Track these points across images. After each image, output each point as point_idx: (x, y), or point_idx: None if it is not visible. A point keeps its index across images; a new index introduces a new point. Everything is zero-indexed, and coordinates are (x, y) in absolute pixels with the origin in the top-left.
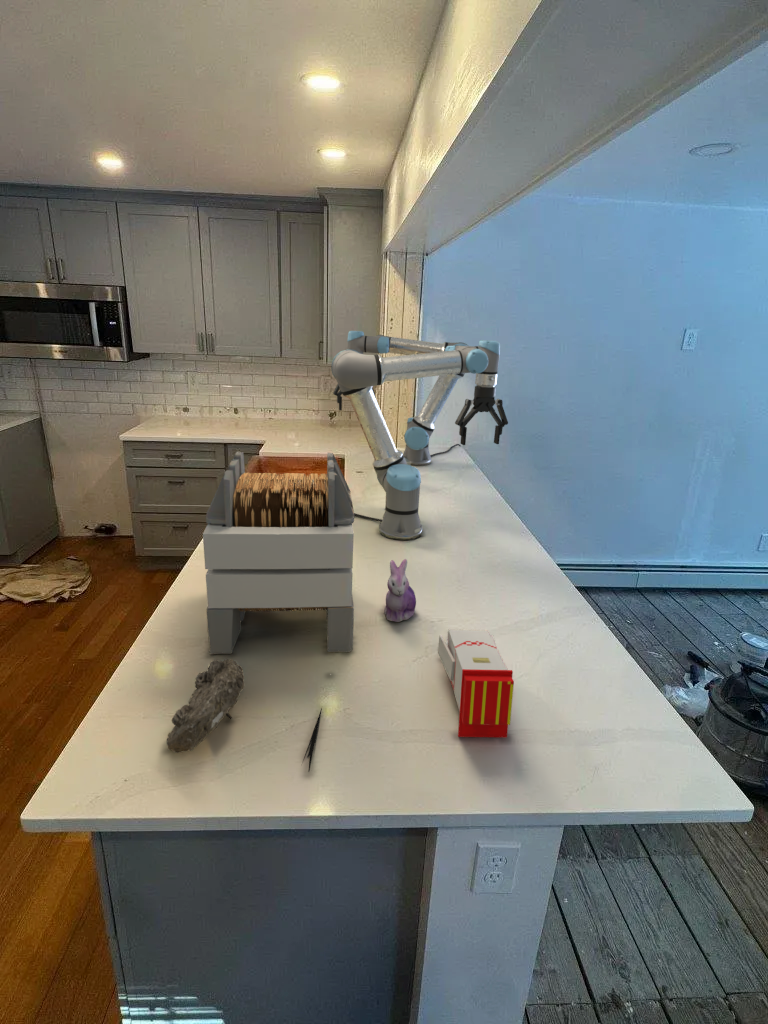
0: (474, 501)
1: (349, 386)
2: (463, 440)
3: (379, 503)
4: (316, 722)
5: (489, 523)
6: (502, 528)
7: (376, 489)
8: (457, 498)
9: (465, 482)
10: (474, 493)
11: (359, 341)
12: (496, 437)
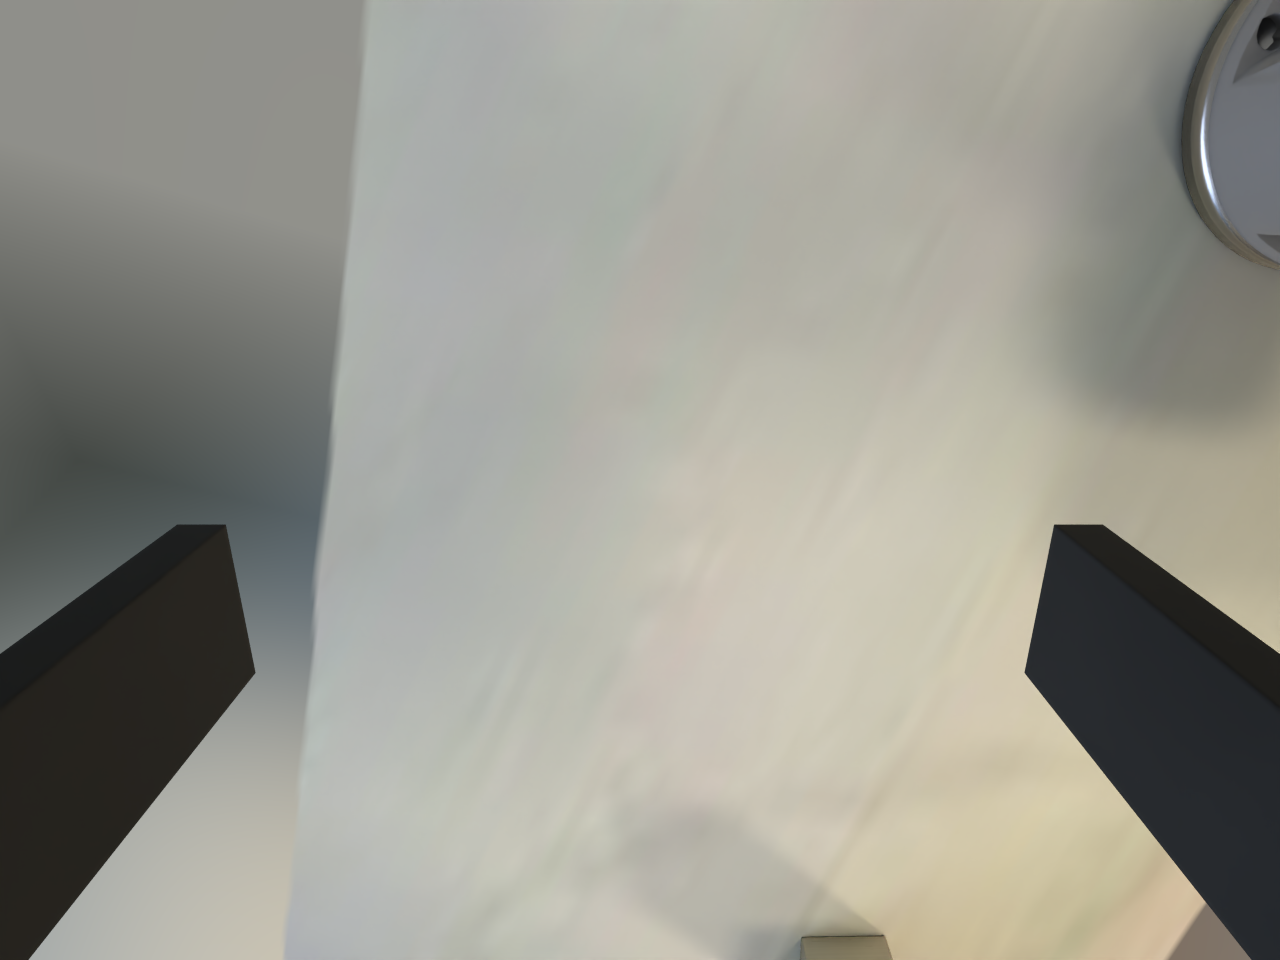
0: (483, 620)
1: None
2: (1167, 594)
3: None
4: None
5: (564, 158)
6: (504, 21)
7: (1038, 908)
8: (581, 691)
9: (397, 948)
10: (418, 761)
11: None
12: (151, 661)
